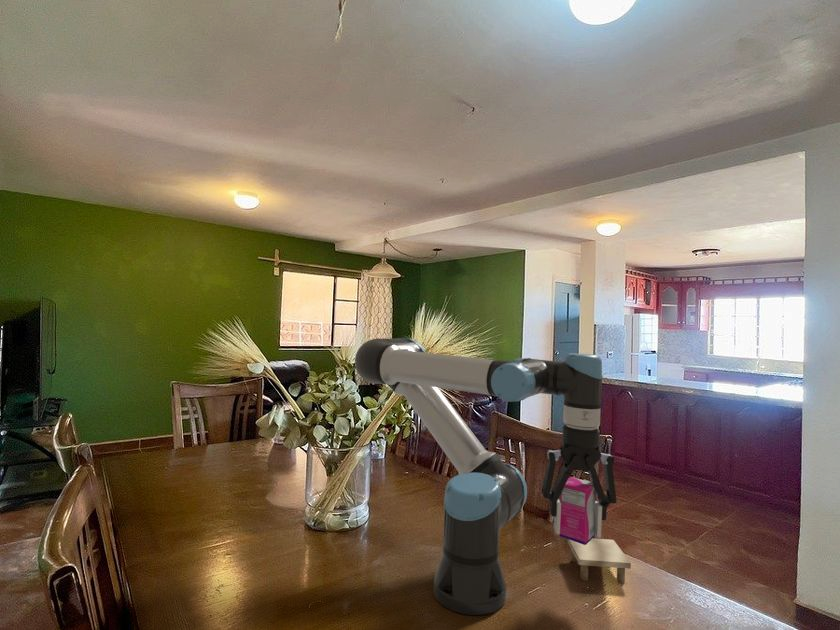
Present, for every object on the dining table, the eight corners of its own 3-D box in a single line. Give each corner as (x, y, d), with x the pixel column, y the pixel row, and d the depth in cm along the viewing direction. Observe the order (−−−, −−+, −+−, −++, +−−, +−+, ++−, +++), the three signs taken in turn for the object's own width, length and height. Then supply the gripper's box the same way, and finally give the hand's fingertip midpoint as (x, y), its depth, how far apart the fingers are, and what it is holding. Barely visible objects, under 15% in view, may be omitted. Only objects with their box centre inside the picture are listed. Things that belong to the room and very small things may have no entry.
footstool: (579, 582, 101) (579, 559, 101) (567, 557, 112) (567, 536, 112) (630, 586, 100) (630, 563, 100) (613, 560, 111) (613, 539, 111)
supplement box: (568, 527, 101) (570, 475, 101) (595, 536, 97) (597, 483, 97) (557, 536, 96) (560, 482, 97) (585, 546, 93) (588, 489, 93)
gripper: (535, 426, 94) (530, 536, 94) (637, 433, 93) (633, 545, 92) (529, 419, 102) (525, 521, 101) (624, 425, 100) (620, 528, 100)
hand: (576, 532), depth 97 cm, fingers closed on supplement box, 8 cm apart
